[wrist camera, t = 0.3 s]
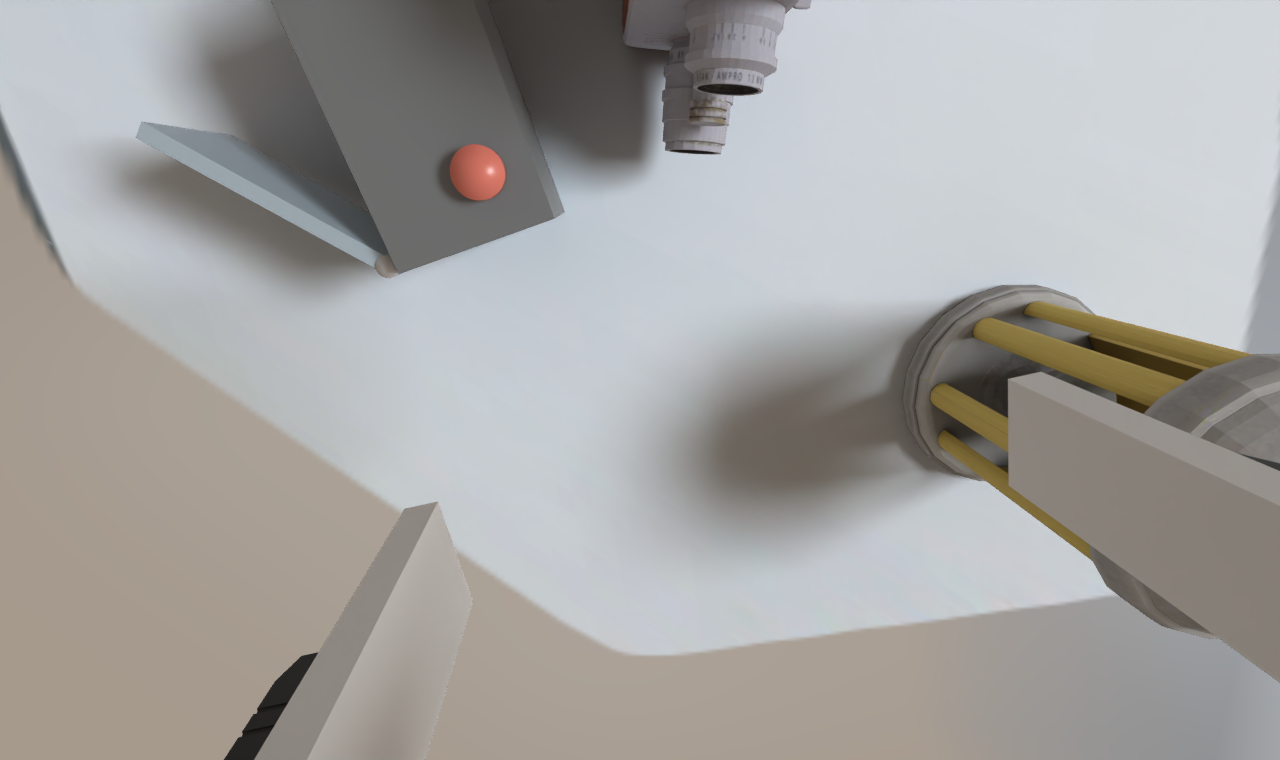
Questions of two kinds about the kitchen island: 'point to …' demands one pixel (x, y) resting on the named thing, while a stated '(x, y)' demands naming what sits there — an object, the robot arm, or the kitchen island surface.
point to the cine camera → (706, 59)
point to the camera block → (425, 120)
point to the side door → (275, 189)
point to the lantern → (1094, 361)
